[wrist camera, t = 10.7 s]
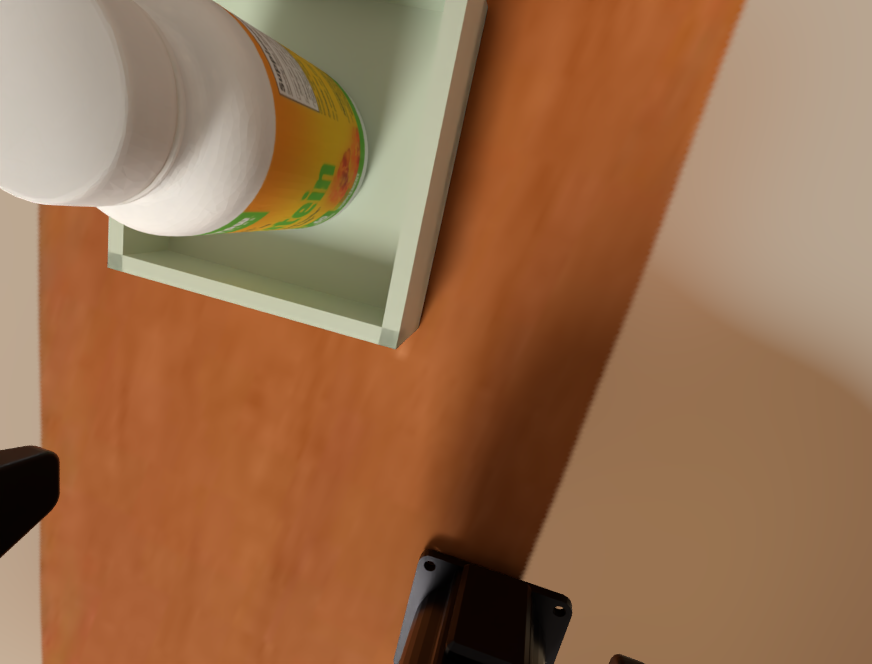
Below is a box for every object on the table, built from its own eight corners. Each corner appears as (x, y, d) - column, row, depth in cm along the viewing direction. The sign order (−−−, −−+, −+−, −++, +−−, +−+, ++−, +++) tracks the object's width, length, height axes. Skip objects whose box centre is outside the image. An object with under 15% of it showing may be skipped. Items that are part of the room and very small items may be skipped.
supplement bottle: (291, 257, 18) (38, 305, 9) (203, 136, 18) (-155, 57, 9) (402, 166, 17) (230, 110, 7) (308, 30, 16) (2, -205, 7)
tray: (418, 328, 19) (395, 349, 16) (168, 259, 20) (107, 267, 18) (487, 7, 16) (475, -38, 13) (187, -44, 17) (117, -94, 15)
